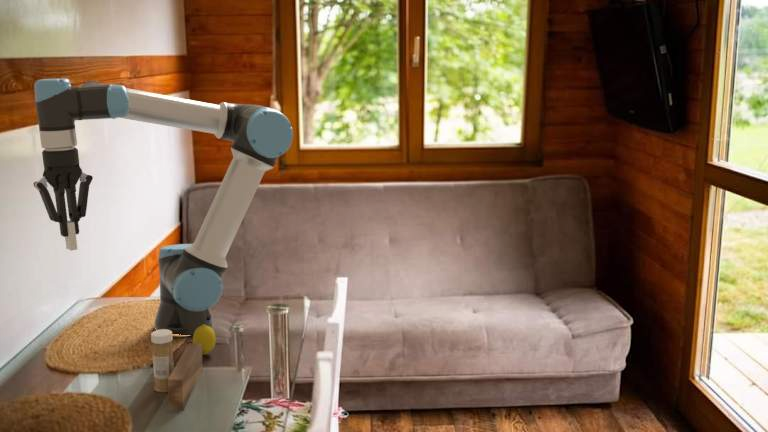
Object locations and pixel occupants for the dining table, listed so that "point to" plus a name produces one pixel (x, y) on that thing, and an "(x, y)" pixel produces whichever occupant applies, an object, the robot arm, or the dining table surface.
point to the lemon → (205, 338)
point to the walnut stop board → (185, 376)
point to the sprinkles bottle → (162, 358)
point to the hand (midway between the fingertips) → (71, 248)
